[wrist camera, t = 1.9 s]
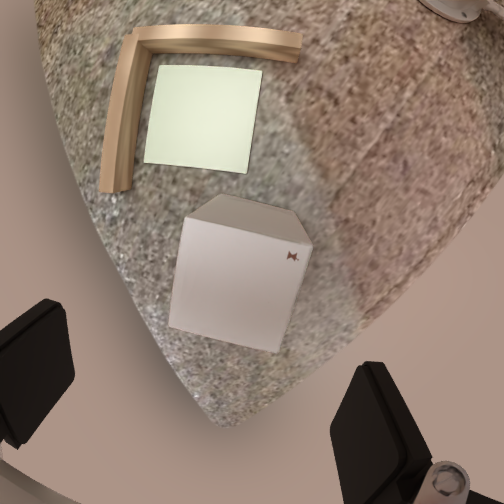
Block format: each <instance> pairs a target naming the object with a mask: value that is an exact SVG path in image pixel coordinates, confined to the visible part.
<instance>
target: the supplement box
mask: <svg viewBox="0 0 504 504" xmlns="http://www.w3.org/2000/svg"><path fill="white" fill-rule="evenodd" d="M312 250H313V244H312V242H311V240H310V239H309V237H308V235H307V233H306V231H305V230H304V228H303V226H302V224H301V223H300V221H299V219H298V217H297V216H296V214H295V212H294V211H291V210H287V209H283V208H280V207H276V206H272V205H268V204H264V203H260V202H256V201H252V200H248V199H244V198H240V197H236V196H232V195H227V194H223V193H221V194H219V195H217V196H216V197H214V198H213V199H211V200H210V201H208V202H207V203H205V204H204V205H202V206H201V207H200V208H198V209H197V210H195V211H194V212H192V213H191V214H189V215H188V216H186V217H185V219H184V223H183V228H182V233H181V238H180V244H179V250H178V256H177V262H176V268H175V274H174V281H173V288H172V295H171V303H170V311H169V321H168V326H169V327H172V328H175V329H179V330H182V331H186V332H190V333H193V334H197V335H201V336H205V337H209V338H213V339H217V340H221V341H225V342H230V343H234V344H237V345H241V346H245V347H249V348H253V349H258V350H262V351H267V352H271V353H278V352H279V351H280V348H281V345H282V342H283V340H284V337H285V333H286V331H287V328H288V325H289V322H290V319H291V316H292V313H293V310H294V307H295V305H296V302H297V299H298V295H299V291H300V288H301V285H302V282H303V278H304V275H305V272H306V269H307V266H308V263H309V259H310V256H311V253H312Z"/></svg>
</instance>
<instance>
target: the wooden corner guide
mask: <svg viewBox="0 0 504 504" xmlns="http://www.w3.org/2000/svg"><path fill="white" fill-rule="evenodd" d="M302 37H303V34H300V33H294V32H288V31H281V30H274V29H266V28H257V27H246V26H232V25H209V24H181V25H158V26H145V27H134V29H133V33H132V34H129V35H125V37H124V40H123V44H122V48H121V52H120V56H119V60H118V64H117V68H116V73H115V77H114V82H113V87H112V92H111V97H110V103H109V109H108V115H107V121H106V128H105V135H104V143H103V151H102V161H101V171H100V184H99V192H107V193H116V192H120V191H125V190H129V189H131V187H132V176H133V166H134V157H135V149H136V141H137V134H138V127H139V120H140V114H141V108H142V102H143V97H144V91H145V86H146V81H147V76H148V71H149V67H150V62H151V58H152V54H158V53H201V54H222V55H235V56H246V57H256V58H264V59H272V60H279V61H285V62H291V63H297V60H298V57H299V53H300V50H301V45H302Z"/></svg>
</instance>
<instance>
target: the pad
mask: <svg viewBox="0 0 504 504" xmlns="http://www.w3.org/2000/svg"><path fill="white" fill-rule="evenodd" d="M261 79H262V71H259V70H250V69H241V68H229V67H216V66H194V65H160V66H159V71H158V75H157V80H156V85H155V91H154V96H153V102H152V107H151V113H150V120H149V126H148V133H147V140H146V148H145V156H144V163H155V164H166V165H177V166H187V167H196V168H205V169H213V170H221V171H229V172H237V173H244V174H247V169H248V162H249V156H250V149H251V142H252V136H253V129H254V123H255V116H256V110H257V104H258V97H259V91H260V85H261Z"/></svg>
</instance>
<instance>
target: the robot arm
mask: <svg viewBox="0 0 504 504" xmlns="http://www.w3.org/2000/svg"><path fill="white" fill-rule="evenodd" d="M419 1H420V2H422V3H423V4H424V5H425V6H426V7H428V8H429V9H431V10H432V11H434V12H435V13H437V14H439V15H441V16H442V17H444V18H447V19H449V20H451V21H455V22H459V23H467V22H471V21H473V20H475V19H476V18H477V17H478V16H479V15H480V13H481V8H483V9H484V10H487V11H488V10H490V11H492V12H493V13H494V14H495V15H496V16H498V17H499V18H501V19H502V20H504V7H502V6H501V5H500V4H498V3H496V1H498V0H494V1H495V2H494V1H493V0H419ZM74 377H75V370H74V365H73V360H72V354H71V348H70V341H69V334H68V327H67V319H66V312H65V310H64V309H63V307H62V305H61V304H60V303H59V302H56V301H53V300H50V299H43V300H42V301H40V302H39V303H38V304H36V305H35V306H33V307H32V308H31V309H29V310H28V311H26V312H25V313H23V314H22V315H21V316H19V317H18V318H17V319H15V320H14V321H13V322H11V323H10V324H8V325H7V326H6V327H5V328H3V329H2V330H0V504H80V503H78V502H76V501H74V500H72V499H69V498H67V497H65V496H63V495H61V494H59V493H57V492H55V491H53V490H52V489H50V488H48V487H46V486H44V485H42V484H40V483H39V482H37V481H35V480H33V479H32V478H30V477H28V476H27V475H25V474H23V473H22V472H20V471H19V470H17V469H15V468H14V467H12V466H11V465H9V464H8V463H6V462H5V461H4V460H3V455H2V447H1V442H2V440H3V439H4V440H5V441H6V443H8V444H10V445H11V446H13V447H14V448H16V449H17V450H18V449H19V447H20V446H21V444H25V443H27V441H28V440H29V439H30V437H31V436H32V435H33V433H34V432H35V431H36V429H37V428H38V427H39V425H40V424H41V422H42V421H43V420H44V418H45V417H46V416H47V414H48V413H49V412H50V410H51V409H52V408H53V407H54V405H55V404H56V403H57V401H58V400H59V399H60V398H61V396H62V395H63V394H64V392H65V391H66V390H67V389H68V387H69V386H70V385H71V383H72V382H73V380H74ZM330 436H331V441H332V446H333V450H334V456H335V460H336V465H337V470H338V475H339V480H340V486H341V491H342V495H343V501H344V504H504V503H501V502H498V501H496V500H493V499H491V498H488V497H486V496H483V495H481V494H479V493H476V492H474V491H472V490H469V489H470V479H469V476H468V474H467V472H466V471H465V470H464V469H463V468H462V467H461V466H459V465H458V464H456V463H454V462H450V461H441V462H437V463H435V464H434V465H433V463H432V461H431V458H432V455H431V453H430V451H429V449H428V447H427V445H426V442H425V441H424V438H423V436H422V435H421V432H420V431H419V428H418V426H417V424H416V422H415V421H414V419H413V417H412V415H411V413H410V411H409V409H408V407H407V405H406V403H405V401H404V399H403V397H402V396H401V394H400V392H399V390H398V388H397V386H396V385H395V383H394V381H393V379H392V377H391V375H390V373H389V372H388V370H387V368H386V366H385V364H384V363H383V362H371V361H366V362H364V363H363V364H362V365H359V366H358V367H357V369H356V371H355V373H354V376H353V378H352V380H351V382H350V385H349V387H348V389H347V392H346V394H345V396H344V398H343V400H342V402H341V405H340V407H339V409H338V411H337V413H336V415H335V417H334V419H333V421H332V423H331V426H330Z"/></svg>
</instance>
